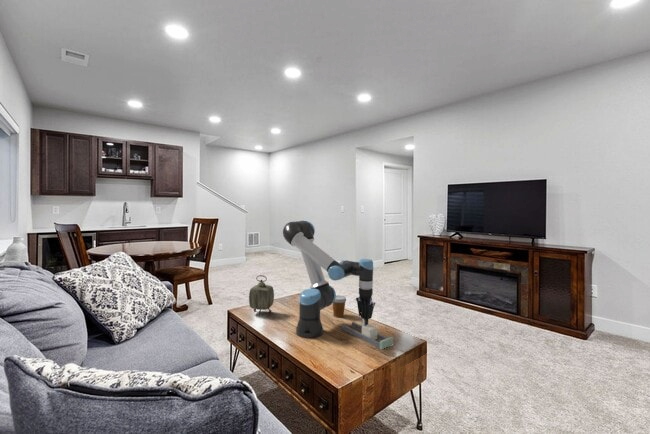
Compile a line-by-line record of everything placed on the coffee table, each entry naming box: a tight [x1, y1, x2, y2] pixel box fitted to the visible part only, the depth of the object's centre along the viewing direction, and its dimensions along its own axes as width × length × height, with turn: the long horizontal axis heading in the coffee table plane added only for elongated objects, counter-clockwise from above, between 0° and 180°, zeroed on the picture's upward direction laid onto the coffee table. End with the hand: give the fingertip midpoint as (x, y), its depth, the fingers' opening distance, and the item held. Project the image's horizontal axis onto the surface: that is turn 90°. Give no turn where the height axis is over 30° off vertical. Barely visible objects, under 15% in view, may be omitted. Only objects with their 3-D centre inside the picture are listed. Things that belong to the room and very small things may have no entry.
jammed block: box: [361, 323, 379, 341], centre depth 170 cm, size 6×6×6 cm
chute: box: [341, 321, 394, 350], centre depth 172 cm, size 9×30×4 cm, turn 38°
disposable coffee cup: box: [332, 295, 347, 318], centre depth 202 cm, size 10×10×12 cm
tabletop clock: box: [248, 275, 275, 315], centre depth 203 cm, size 14×9×25 cm, turn 82°
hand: (364, 329), depth 173 cm, fingers closed
